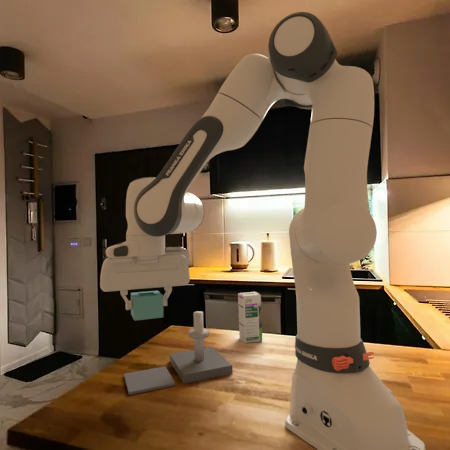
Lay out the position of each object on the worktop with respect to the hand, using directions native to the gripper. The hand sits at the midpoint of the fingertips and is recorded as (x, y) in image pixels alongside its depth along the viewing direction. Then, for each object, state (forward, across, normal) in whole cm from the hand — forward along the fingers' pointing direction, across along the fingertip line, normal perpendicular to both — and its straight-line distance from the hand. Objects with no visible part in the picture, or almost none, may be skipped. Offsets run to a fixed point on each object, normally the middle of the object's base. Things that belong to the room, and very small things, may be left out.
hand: (146, 307), depth 77 cm
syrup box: (+17, -34, -15) cm, 41 cm away
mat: (+17, 0, 0) cm, 17 cm away
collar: (+2, 0, 0) cm, 2 cm away
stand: (+17, -13, -2) cm, 21 cm away
